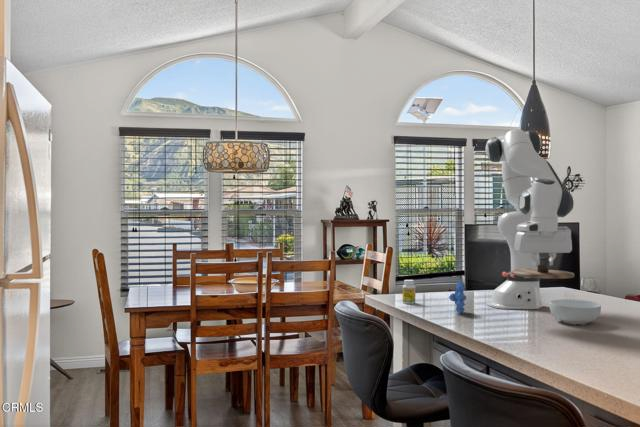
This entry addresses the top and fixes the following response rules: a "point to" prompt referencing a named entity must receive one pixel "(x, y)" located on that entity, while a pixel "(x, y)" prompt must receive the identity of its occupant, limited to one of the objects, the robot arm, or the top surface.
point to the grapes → (459, 297)
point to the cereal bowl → (575, 310)
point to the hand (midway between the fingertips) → (543, 265)
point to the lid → (543, 271)
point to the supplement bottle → (409, 292)
